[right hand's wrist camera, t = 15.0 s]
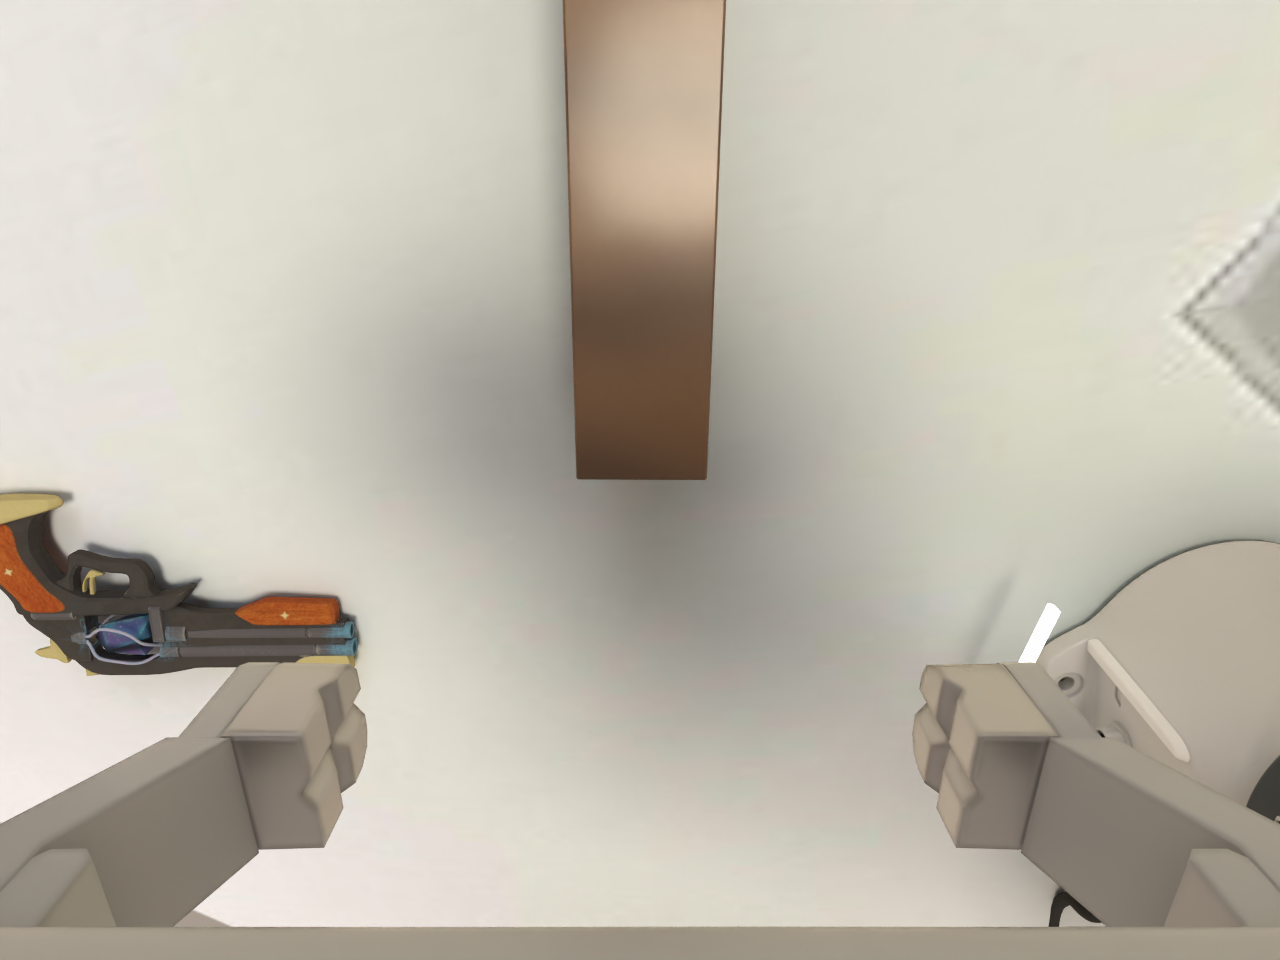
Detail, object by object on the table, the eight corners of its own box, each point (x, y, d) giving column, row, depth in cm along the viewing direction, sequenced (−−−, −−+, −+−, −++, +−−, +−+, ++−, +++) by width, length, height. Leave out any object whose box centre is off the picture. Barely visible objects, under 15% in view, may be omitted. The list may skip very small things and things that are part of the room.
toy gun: (-77, 503, 35) (-35, 692, 38) (336, 506, 37) (350, 687, 39) (-32, 488, 38) (5, 665, 40) (352, 491, 39) (364, 662, 42)
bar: (692, 414, 36) (706, 480, 28) (591, 414, 36) (576, 480, 28) (711, -192, 28) (740, -350, 20) (578, -193, 28) (552, -351, 20)
